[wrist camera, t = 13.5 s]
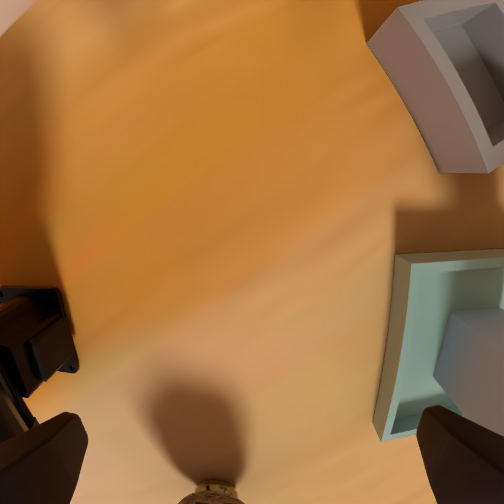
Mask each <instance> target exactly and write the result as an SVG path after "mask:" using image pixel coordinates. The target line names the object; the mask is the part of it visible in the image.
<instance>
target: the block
mask: <svg viewBox="0 0 504 504" xmlns="http://www.w3.org/2000/svg"><path fill="white" fill-rule="evenodd" d="M433 377H434V379H435V380H436V381H437V382H438V384H439V385H440V386H441V387H442V389H443V390H444V391H445V392H446V393H447V395H448V396H449V397H450V399H451V400H452V401H453V402H454V404H455V405H456V406H457V407H458V409H459V410H460V411H461V413H462V414H463V415H464V416H465V418H467V419H469V420H471V421H473V422H475V423H477V424H479V425H481V426H483V427H485V428H487V429H489V430H491V431H494V432H496V433H498V434H500V435H502V436H504V310H503V309H501V308H500V307H499V308H489V309H477V310H465V311H452V312H450V313H449V318H448V322H447V326H446V330H445V334H444V338H443V342H442V346H441V350H440V353H439V357H438V360H437V364H436V367H435V370H434V374H433Z"/></svg>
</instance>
